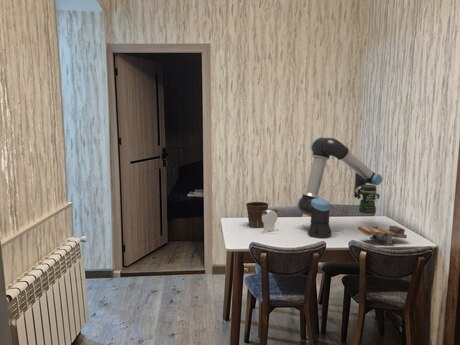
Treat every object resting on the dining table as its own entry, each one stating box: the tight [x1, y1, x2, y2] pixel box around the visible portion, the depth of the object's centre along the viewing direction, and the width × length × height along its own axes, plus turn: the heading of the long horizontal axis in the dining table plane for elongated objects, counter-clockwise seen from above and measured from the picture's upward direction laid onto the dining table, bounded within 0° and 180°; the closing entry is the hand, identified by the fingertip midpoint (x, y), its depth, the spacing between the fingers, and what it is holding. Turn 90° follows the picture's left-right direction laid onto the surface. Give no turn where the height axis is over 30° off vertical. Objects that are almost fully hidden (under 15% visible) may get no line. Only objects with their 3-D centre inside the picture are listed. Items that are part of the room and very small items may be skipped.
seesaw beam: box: [357, 225, 408, 239], centre depth 238 cm, size 26×12×5 cm, turn 101°
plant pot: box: [245, 201, 269, 229], centre depth 276 cm, size 16×16×16 cm
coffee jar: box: [358, 184, 377, 215], centre depth 251 cm, size 10×8×19 cm
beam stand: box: [369, 226, 395, 247], centre depth 238 cm, size 6×16×8 cm, turn 12°
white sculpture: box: [260, 208, 279, 235], centre depth 261 cm, size 12×11×15 cm
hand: (369, 198), depth 246 cm, fingers closed on coffee jar, 8 cm apart
